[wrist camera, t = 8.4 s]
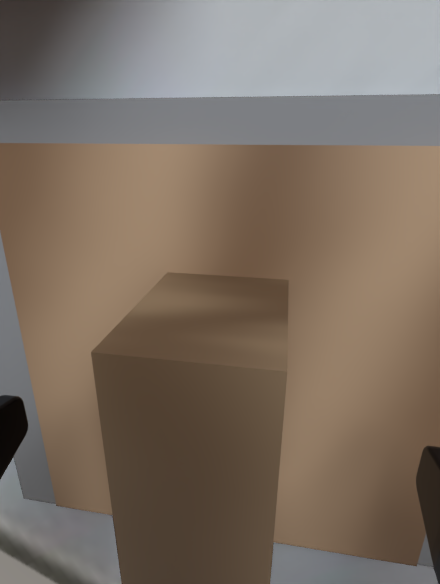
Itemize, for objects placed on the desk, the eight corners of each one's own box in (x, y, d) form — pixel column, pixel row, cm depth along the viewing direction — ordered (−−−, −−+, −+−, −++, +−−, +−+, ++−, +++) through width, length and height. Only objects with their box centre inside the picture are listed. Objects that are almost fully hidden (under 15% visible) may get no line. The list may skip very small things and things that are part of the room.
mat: (624, 93, 8) (640, 91, 7) (461, 560, 13) (466, 572, 12) (-62, 102, 10) (-75, 101, 10) (30, 490, 15) (23, 498, 15)
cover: (515, 146, 8) (788, 149, 4) (408, 541, 12) (474, 760, 8) (5, 143, 10) (-224, 142, 6) (68, 487, 14) (-31, 640, 10)
